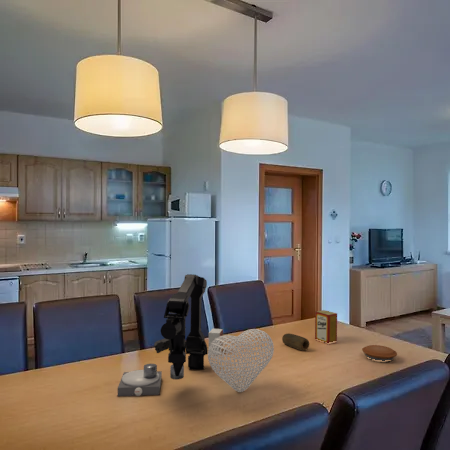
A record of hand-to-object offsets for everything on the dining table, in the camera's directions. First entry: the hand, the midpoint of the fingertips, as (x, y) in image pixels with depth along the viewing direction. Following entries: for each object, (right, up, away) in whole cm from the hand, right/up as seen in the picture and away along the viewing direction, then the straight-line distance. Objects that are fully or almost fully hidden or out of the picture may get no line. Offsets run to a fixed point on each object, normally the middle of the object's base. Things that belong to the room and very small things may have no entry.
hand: (177, 373), depth 148 cm
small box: (+13, -7, +47) cm, 49 cm away
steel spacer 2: (0, -1, 0) cm, 1 cm away
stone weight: (+54, -8, +55) cm, 78 cm away
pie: (+91, -8, +41) cm, 100 cm away
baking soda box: (+73, -8, +67) cm, 99 cm away
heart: (+24, -8, +2) cm, 25 cm away
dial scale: (-15, -7, +5) cm, 17 cm away
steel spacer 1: (-11, -3, +5) cm, 13 cm away
